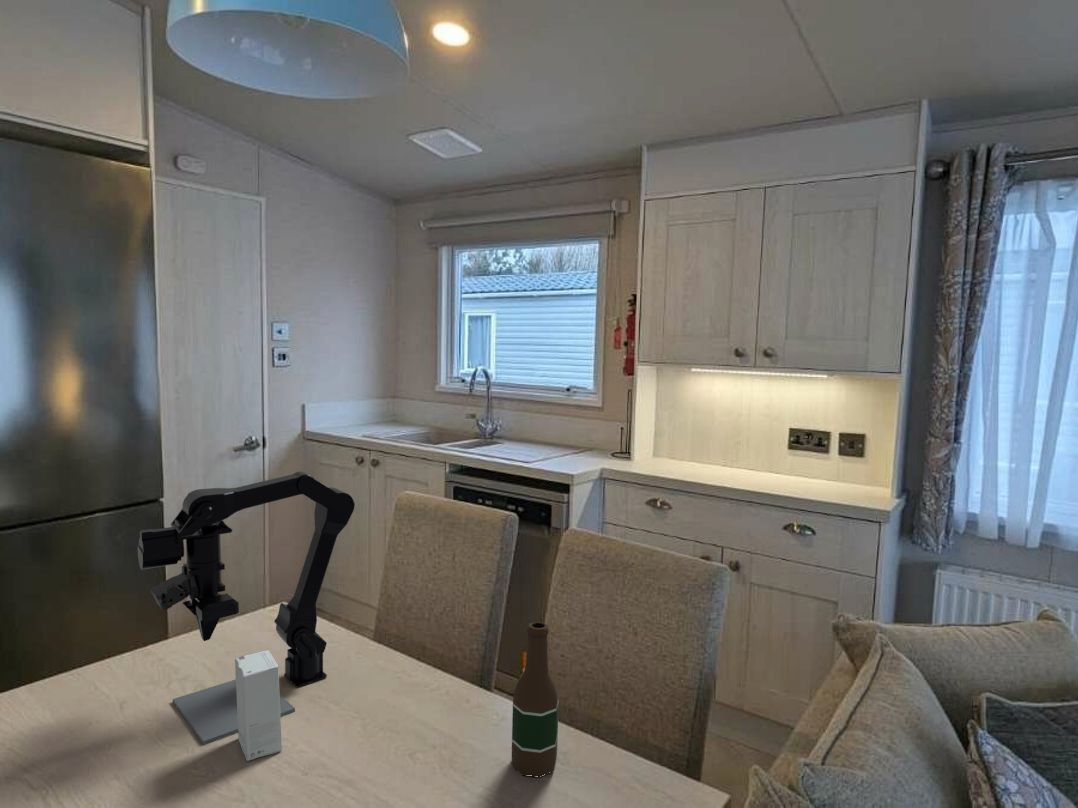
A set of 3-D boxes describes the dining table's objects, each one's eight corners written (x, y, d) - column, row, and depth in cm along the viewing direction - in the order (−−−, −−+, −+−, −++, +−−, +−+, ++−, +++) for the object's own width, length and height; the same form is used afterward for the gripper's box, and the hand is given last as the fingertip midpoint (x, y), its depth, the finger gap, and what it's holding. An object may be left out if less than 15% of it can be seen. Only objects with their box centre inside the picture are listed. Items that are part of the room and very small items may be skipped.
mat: (257, 675, 139) (257, 672, 139) (294, 711, 126) (294, 708, 126) (172, 702, 128) (172, 699, 128) (203, 744, 115) (203, 741, 115)
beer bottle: (541, 785, 106) (546, 639, 104) (501, 768, 111) (504, 627, 108) (566, 760, 113) (570, 622, 111) (527, 744, 117) (531, 611, 115)
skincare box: (282, 751, 113) (281, 667, 112) (244, 763, 110) (243, 676, 109) (271, 727, 120) (270, 647, 119) (235, 737, 117) (234, 655, 116)
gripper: (141, 555, 126) (144, 635, 127) (169, 582, 112) (172, 672, 113) (205, 543, 133) (207, 619, 135) (238, 568, 120) (240, 652, 121)
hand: (206, 639), depth 126 cm, fingers closed
